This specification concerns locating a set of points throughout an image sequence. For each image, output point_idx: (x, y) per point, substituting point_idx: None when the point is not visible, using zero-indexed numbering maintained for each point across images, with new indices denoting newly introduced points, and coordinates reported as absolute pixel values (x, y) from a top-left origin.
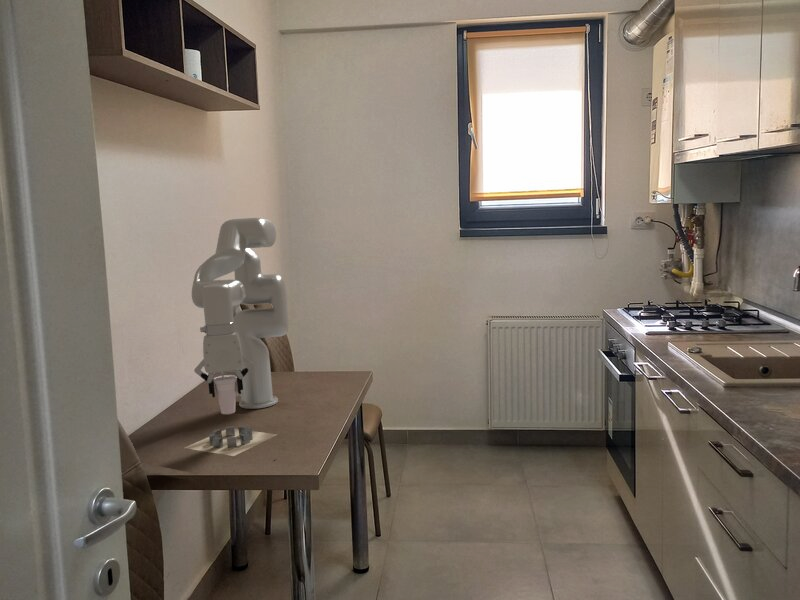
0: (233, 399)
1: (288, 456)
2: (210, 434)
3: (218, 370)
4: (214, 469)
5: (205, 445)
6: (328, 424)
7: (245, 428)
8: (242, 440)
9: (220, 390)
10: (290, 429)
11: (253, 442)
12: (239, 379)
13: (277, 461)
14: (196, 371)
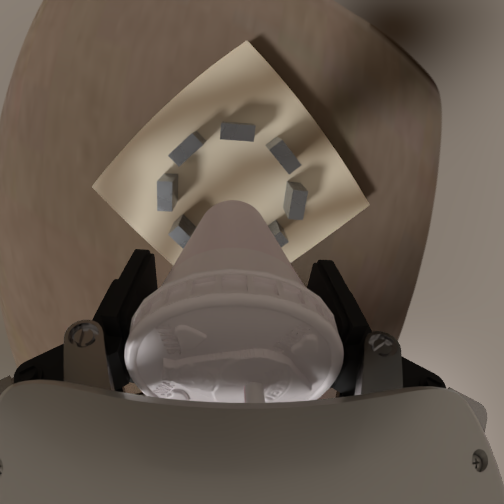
0: (195, 234)
1: (95, 32)
2: (299, 214)
3: (348, 422)
4: (309, 19)
5: (313, 191)
6: (9, 244)
7: (176, 225)
8: (198, 135)
9: (286, 266)
10: (74, 252)
11: (164, 141)
12: (104, 323)
13: (130, 4)
14: (475, 409)
